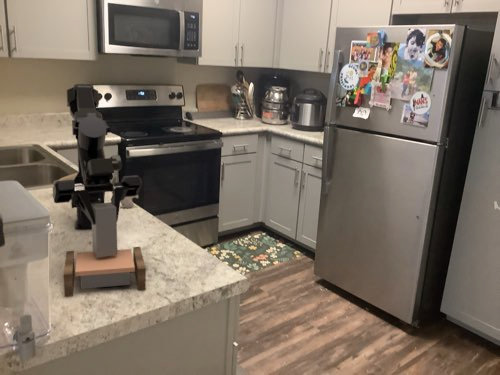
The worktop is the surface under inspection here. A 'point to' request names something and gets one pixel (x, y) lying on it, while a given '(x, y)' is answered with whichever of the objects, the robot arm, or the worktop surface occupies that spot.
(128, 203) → the arrowhead
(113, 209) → the gray rectangular block
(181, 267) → the worktop surface
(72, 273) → the brown bracket
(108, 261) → the trapdoor
